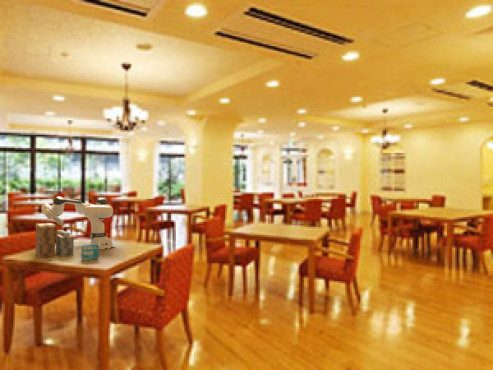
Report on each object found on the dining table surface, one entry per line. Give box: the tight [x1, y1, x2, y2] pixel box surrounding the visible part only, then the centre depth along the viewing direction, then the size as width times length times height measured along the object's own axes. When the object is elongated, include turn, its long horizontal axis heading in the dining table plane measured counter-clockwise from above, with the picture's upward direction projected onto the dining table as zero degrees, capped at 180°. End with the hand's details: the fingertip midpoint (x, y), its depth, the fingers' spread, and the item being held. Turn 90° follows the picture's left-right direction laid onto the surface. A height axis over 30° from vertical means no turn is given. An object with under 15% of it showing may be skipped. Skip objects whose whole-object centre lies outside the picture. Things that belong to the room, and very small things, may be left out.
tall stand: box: [35, 222, 57, 259], centre depth 295 cm, size 11×13×26 cm
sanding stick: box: [56, 229, 71, 236], centre depth 308 cm, size 4×22×3 cm, turn 42°
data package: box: [80, 243, 100, 262], centre depth 288 cm, size 12×4×12 cm, turn 128°
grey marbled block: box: [55, 233, 75, 257], centre depth 305 cm, size 10×13×16 cm
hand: (57, 221), depth 325 cm, fingers open, 8 cm apart
